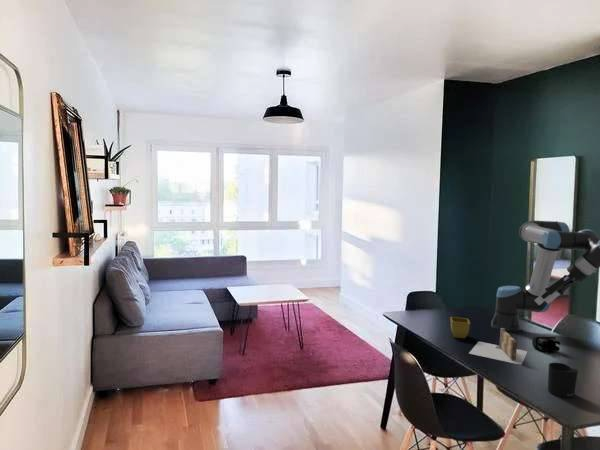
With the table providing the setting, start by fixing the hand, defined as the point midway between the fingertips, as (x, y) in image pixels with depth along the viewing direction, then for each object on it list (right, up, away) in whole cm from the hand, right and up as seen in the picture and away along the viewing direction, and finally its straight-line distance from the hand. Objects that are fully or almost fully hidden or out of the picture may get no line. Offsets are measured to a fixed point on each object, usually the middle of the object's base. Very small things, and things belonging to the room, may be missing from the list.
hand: (541, 302), depth 203 cm
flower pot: (-24, -24, +36) cm, 49 cm away
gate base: (-13, -26, +14) cm, 32 cm away
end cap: (+13, -27, +21) cm, 36 cm away
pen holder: (-7, -30, -28) cm, 41 cm away
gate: (-9, -25, +13) cm, 30 cm away
